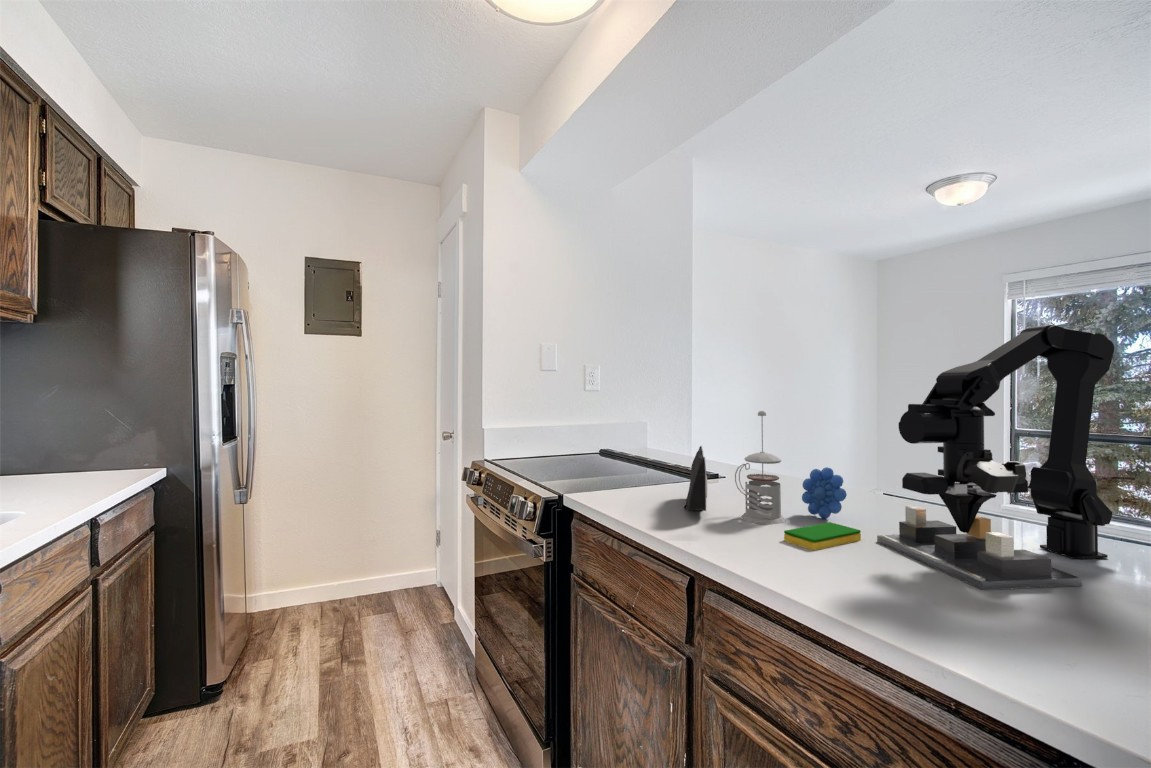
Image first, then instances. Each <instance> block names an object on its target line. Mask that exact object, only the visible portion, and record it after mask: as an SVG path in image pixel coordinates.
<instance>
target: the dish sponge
mask: <svg viewBox="0 0 1151 768" xmlns="http://www.w3.org/2000/svg"><path fill="white" fill-rule="evenodd" d="M783 532H784V534H783V535H784V537H783V538H784V542H786V543H789V544H793V545H796V546H799V547H802V548H806V549H808V550H811V551H817V550H822V549H826V548H827V549H828V548H831V547H832V548H833V547H836V546H842V545H846V544H849V543H855V542H860V541H861V540H862V539H861V538H862V535H861V533H862V531H861V530H860V529H857V528H854V527H849V526H845V525H843V524H838V523H834V522H831V521H830V522H824V523H818V524H814V525H813V524H812V525H808V526H803V527H798V528H796V527H795V528H791V529H786V530H783ZM859 540H860V541H859Z"/></svg>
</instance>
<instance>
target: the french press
mask: <svg viewBox="0 0 1151 768" xmlns="http://www.w3.org/2000/svg"><path fill="white" fill-rule="evenodd" d="M757 416H759V417H761V451H760V452H755V453H752V454H748V455H747V456H745V457H744V459H743V460H744V461H745V462H746V463H742V464H741V465H739V466H738V467H737V468H736V470H735V473H734V482H735V485H736V488H737V490H738V491H739V492H740V493H741V494H743V496H744V497H745V499H744V500H745V513H743V514H742V515H741V517H740V518H741V519H742V520H744V521H746V522H749V523H755V524H761V525H778V524H783V523H785V522H786V518H785V517H784V516H783V515H782V505H781V504H782V503H781V502H782V501H781V499H782V498H781V497H782V496H781V495H782V493H781V492H782V491H781V490H782V489H781V483H780V482H777V481H778V480H779V479H780V477H779V476H778V475H775V474H768V473H767V474H766V473H764V464H765V465H766V464H767V465H768V464H769V465H771V464H772V465H773V464H774V465H775V464H780V463H781V462H782V459H780V458H779V456H777V455H774V454H772V453H768V452H765V451H764V438H763V437H764V434H763V433H764V430H763V429H764V427H763V426H764V425H763V420H764V419H763V417H766V416H767V413H766V412H765V411H764V410H759V411H758V412H757ZM750 463H753V464H761V467H762V469H761V473H754V474H753V473H750V474H747V475H746V478H747V479H748V481H745V486H744V487H745V489H744V487H743V486H742V483H741V480H740V479H741V472H742V469H743V468H745V470H746V471H748V470H749V469H750V468H751V464H750ZM747 465H748V468H747ZM737 473H738V481H739V485H740V488H741V489H742V490H743V491H742V490H741V489H740V488H739V486H738V483H737ZM744 492H745V493H744ZM763 497H766V498H763ZM767 497H770V498H767ZM763 502H764V503H763ZM769 503H771V504H769Z"/></svg>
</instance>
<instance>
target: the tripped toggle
mask: <svg viewBox="0 0 1151 768" xmlns="http://www.w3.org/2000/svg"><path fill="white" fill-rule="evenodd" d="M991 520H992V519H990V518H988V517H984V516H980V515H978V514H977V515H976V517H975V519H974V522H973V524H972V526H971V528H970V531H969V532H968V533H965V534H969V535H972V536H975V537H978V538H986V532H992V529H991V527H992V526H991V525H992V524H991V523H992V522H991Z"/></svg>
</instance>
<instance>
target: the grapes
mask: <svg viewBox="0 0 1151 768" xmlns="http://www.w3.org/2000/svg"><path fill="white" fill-rule="evenodd" d="M834 473H835V472H834V470H833V469H832V468H831V467H828V466H827V467H824V468H822V470H820V469H818V468H814V469H812V470H811V471H810V472H809V477H808V478H805V479H804V480H803V482H802V488H803V490H805V491H804V492H803V493H802V496H801V501H802V502H803V503H804V504H807V505H808V506H807V511H808V513H809V514H810V515H813V516H816V515H818V517H820V518H821V519H823V520H826V519H829V518H830V517H831V514H834V515H837V514H839V513H840V512H841V511H842V508H843V507H842V503H841V502H843V501H845V499H847V491H846V490H845V489H844V488H841V487H842V486H843V484H844V478H843V477H842V476H841V475H839V474H834Z"/></svg>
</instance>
